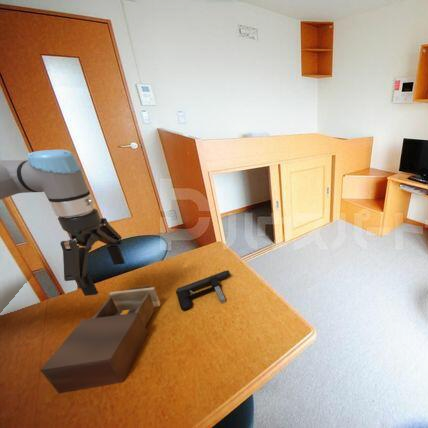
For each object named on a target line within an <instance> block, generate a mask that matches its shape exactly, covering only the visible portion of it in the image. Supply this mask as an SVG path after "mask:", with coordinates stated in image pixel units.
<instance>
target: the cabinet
mask: <svg viewBox="0 0 428 428" xmlns="http://www.w3.org/2000/svg"><path fill="white" fill-rule="evenodd" d="M148 333H149V332H148V330H147V328H146V326H144V324H143V321H142V319H141V317H140V314H139V312H138V313H131V314H123V315H115V316H107V317H100V318H93V317H91V318H86V319H82V320H81V321H80V322H79V324H78V325H76V327H75V328H74V329H73V330H72V332H71V333H70V334H69V335H68V336H67V337H66V338H65V340H64V341H63V342H62V343H61V344H60V346H59V347H57V349H56V351H55V352H54V353H53V354H52V355H51V356H50V358H49V359H48V360H47V361H46V363H45V364H43V366H42V367H41V368H40V369H39V371H40V372H41V373H42V374H43V376H44V377H45V378H46V379H47V381H48V382H49V383H50V385H51V386H52V387H53V388H54V390H55V391H56V392H57V394H64V393H69V392H75V391H80V390H86V389H91V388H97V387H98V388H99V387H103V386H108V385H109V386H110V385H115V384H120V383H124V382H125V380H126V378H127V377H128V375H129V372H130V370H131V369H132V366H133V364H134V363H135V360H136V358H137V357H138V355H139V353H140V351H141V349H142V347H143V345H144V343H145V341H146V339H147V338H148V335H149V334H148Z"/></svg>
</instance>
